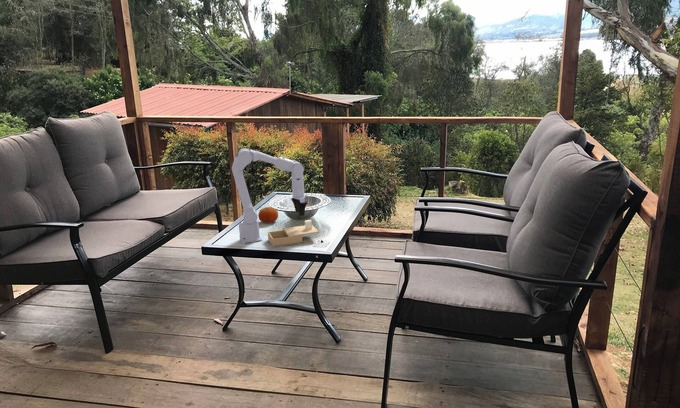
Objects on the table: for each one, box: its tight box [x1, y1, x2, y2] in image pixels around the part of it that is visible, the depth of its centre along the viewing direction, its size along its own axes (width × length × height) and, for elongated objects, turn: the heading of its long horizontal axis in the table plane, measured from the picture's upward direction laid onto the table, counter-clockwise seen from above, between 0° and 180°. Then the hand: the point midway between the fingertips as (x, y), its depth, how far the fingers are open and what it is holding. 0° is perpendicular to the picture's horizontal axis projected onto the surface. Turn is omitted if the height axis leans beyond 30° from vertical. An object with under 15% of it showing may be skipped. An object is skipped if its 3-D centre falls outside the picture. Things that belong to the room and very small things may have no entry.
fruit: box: [257, 206, 279, 224], centre depth 274 cm, size 11×10×8 cm
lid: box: [282, 219, 320, 237], centre depth 243 cm, size 14×12×5 cm
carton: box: [267, 229, 303, 248], centre depth 242 cm, size 14×12×4 cm
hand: (299, 213), depth 250 cm, fingers open, 7 cm apart
